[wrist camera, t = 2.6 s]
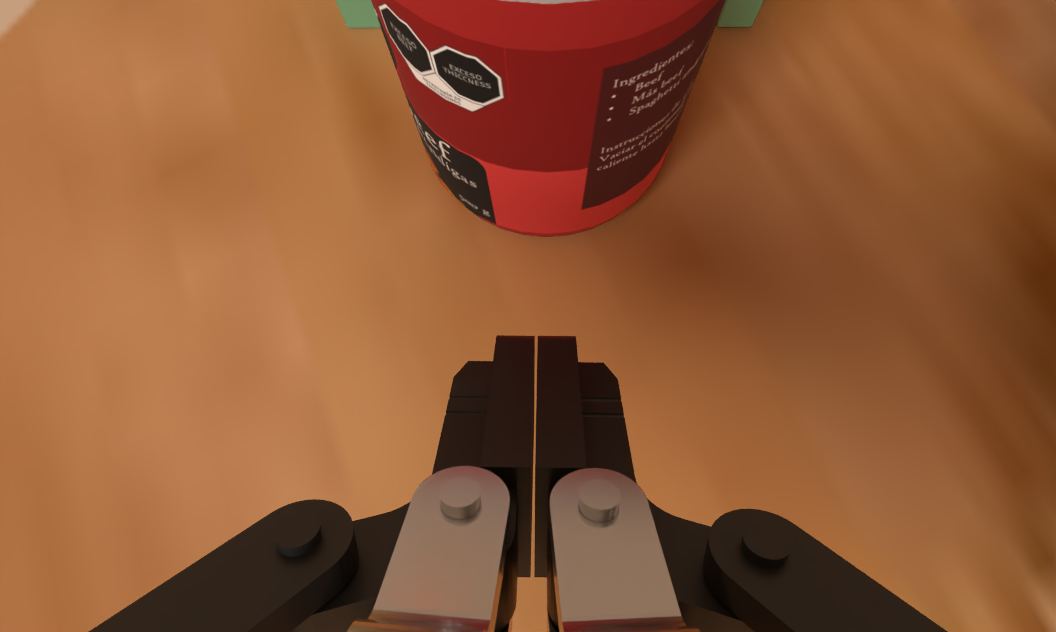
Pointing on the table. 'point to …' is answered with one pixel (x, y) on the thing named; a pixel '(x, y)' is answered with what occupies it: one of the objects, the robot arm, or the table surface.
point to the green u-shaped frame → (736, 12)
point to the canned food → (547, 99)
